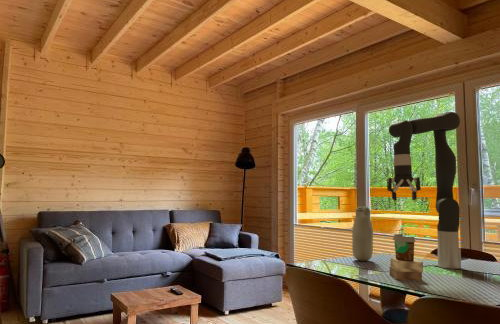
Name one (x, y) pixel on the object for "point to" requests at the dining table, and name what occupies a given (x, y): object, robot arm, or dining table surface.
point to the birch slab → (406, 265)
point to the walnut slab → (405, 275)
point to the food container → (404, 247)
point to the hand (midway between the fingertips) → (404, 200)
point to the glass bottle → (362, 235)
